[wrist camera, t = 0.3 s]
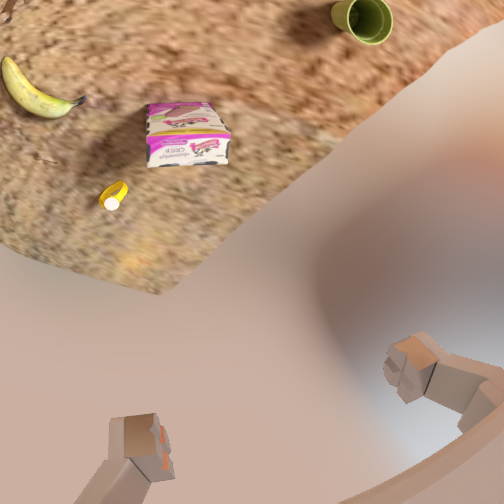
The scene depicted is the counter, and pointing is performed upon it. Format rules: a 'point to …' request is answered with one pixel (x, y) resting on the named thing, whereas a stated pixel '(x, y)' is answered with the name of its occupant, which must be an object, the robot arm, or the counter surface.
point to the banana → (31, 88)
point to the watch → (113, 201)
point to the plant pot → (364, 19)
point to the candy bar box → (185, 135)
